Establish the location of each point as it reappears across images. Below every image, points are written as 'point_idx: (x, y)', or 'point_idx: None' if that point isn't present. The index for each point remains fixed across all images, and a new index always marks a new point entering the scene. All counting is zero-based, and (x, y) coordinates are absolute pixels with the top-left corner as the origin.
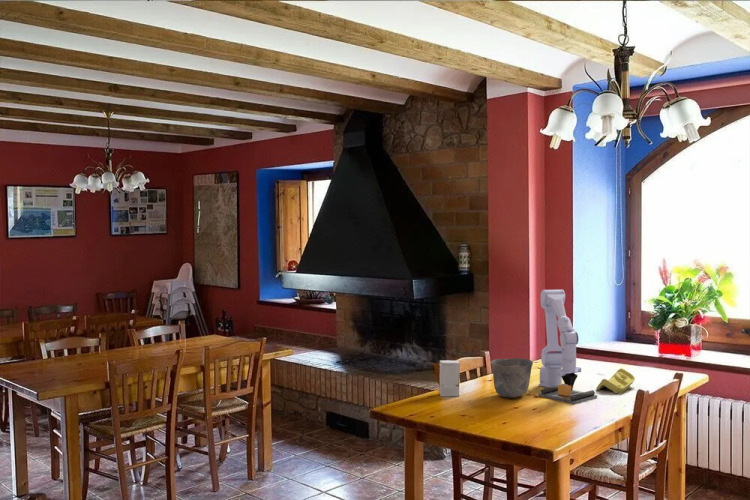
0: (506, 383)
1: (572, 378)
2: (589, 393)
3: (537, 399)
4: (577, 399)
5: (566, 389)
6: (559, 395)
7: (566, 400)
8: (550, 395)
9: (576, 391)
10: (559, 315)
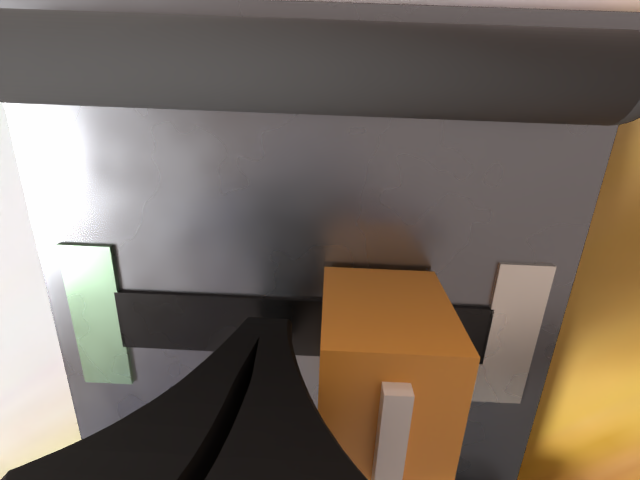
0: None
1: (272, 471)
2: (147, 15)
3: (635, 449)
4: None
5: (461, 326)
6: None
7: (596, 168)
8: (516, 419)
9: (106, 322)
10: None
